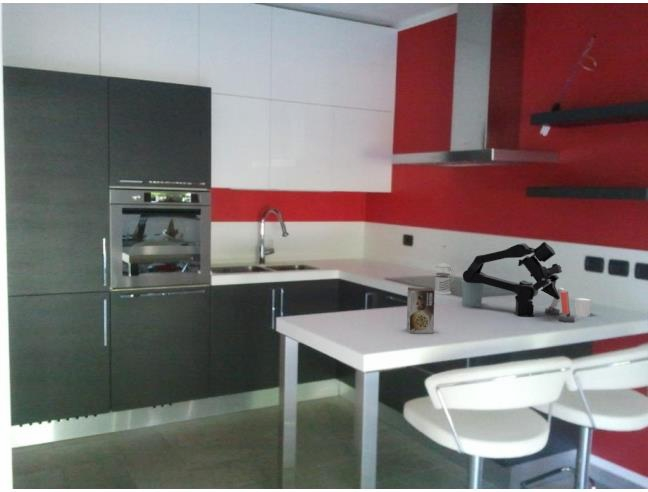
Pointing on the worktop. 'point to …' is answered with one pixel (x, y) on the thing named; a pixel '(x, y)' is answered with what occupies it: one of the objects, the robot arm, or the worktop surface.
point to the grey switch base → (552, 311)
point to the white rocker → (555, 301)
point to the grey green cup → (471, 294)
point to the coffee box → (420, 310)
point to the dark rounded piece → (566, 318)
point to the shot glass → (583, 306)
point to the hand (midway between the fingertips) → (558, 299)
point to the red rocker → (565, 302)
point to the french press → (443, 279)
